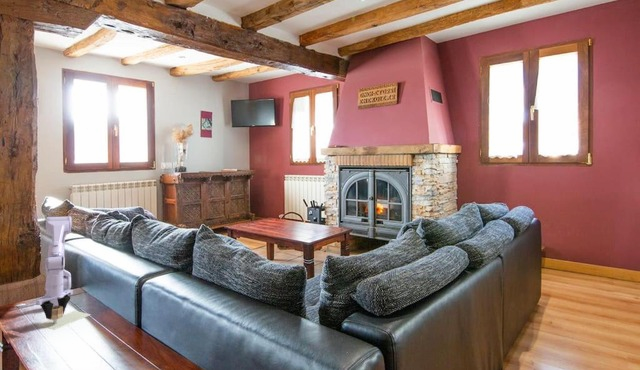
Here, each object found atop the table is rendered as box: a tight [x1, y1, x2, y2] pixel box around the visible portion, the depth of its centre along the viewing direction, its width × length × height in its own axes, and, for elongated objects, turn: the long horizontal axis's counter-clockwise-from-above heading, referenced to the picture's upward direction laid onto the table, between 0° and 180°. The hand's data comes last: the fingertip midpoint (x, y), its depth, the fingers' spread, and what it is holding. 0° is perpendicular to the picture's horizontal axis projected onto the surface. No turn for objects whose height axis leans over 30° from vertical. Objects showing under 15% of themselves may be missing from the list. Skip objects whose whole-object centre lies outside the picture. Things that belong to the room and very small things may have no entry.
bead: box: [49, 306, 64, 320], centre depth 163 cm, size 5×5×4 cm
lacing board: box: [37, 310, 92, 331], centre depth 167 cm, size 10×17×6 cm, turn 161°
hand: (55, 315), depth 163 cm, fingers closed on bead, 5 cm apart
